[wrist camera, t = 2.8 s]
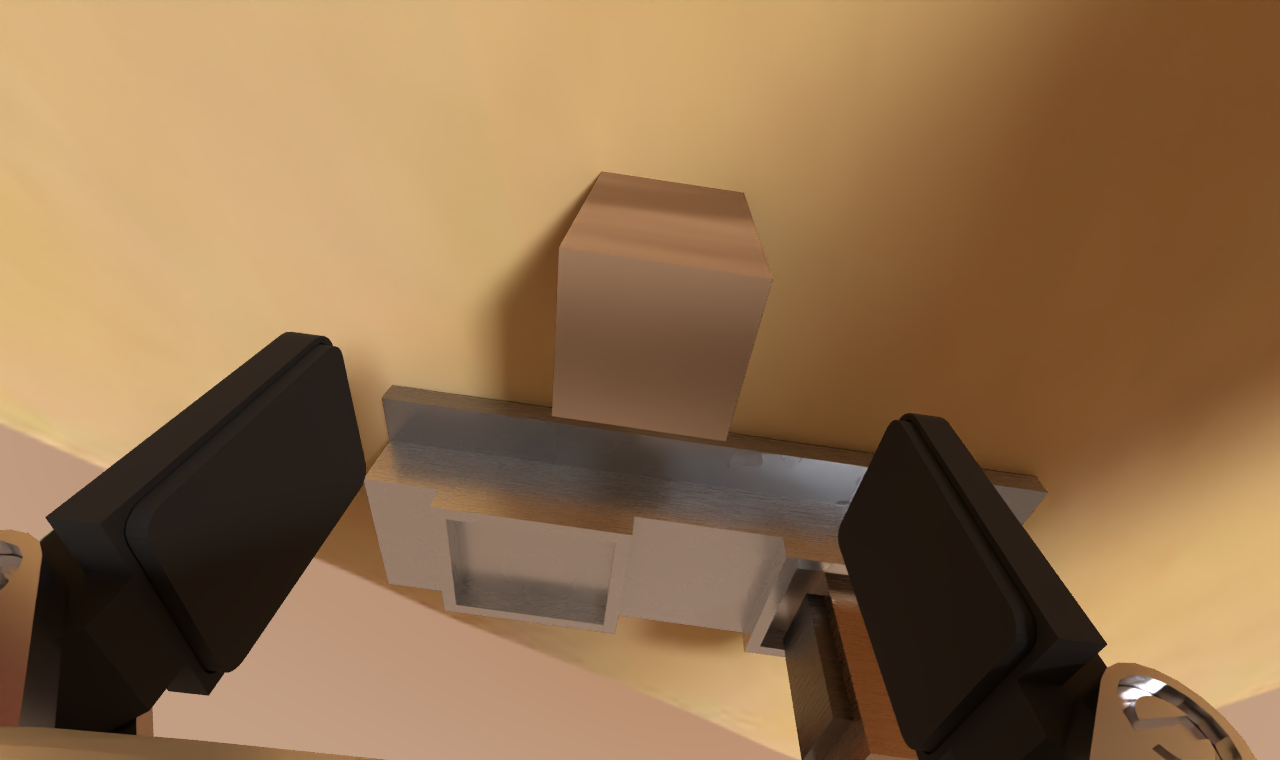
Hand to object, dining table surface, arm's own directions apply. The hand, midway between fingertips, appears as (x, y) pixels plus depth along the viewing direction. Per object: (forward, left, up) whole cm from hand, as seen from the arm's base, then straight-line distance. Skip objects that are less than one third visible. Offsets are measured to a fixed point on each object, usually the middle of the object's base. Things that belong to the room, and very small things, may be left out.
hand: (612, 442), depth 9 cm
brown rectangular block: (-1, -1, -8) cm, 8 cm away
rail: (-4, +11, -8) cm, 14 cm away
